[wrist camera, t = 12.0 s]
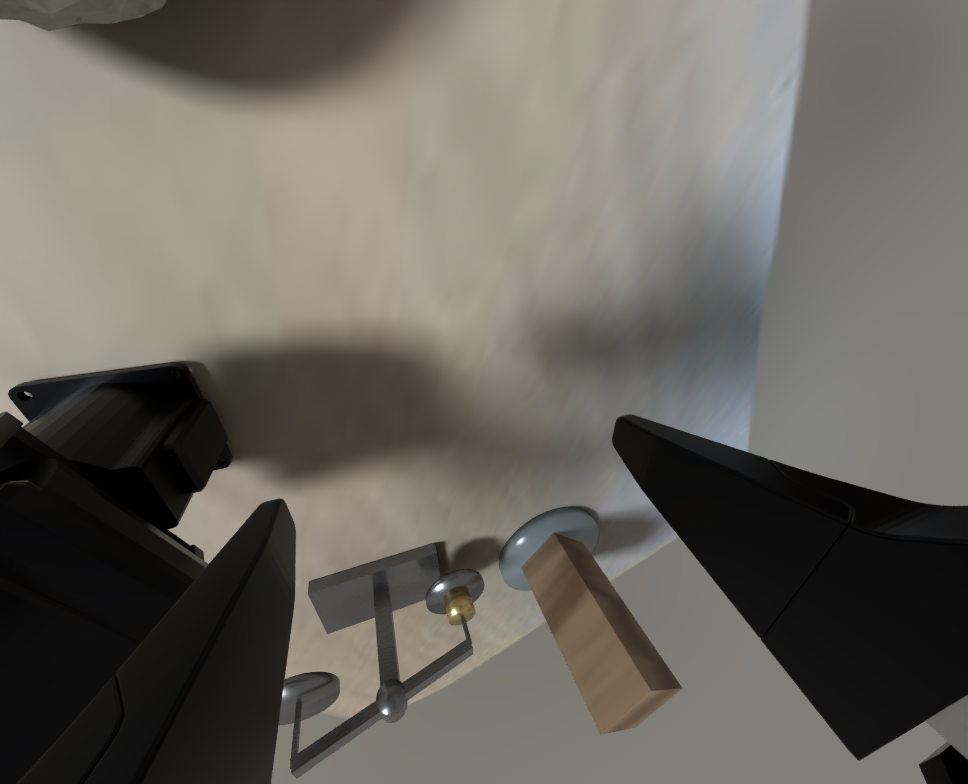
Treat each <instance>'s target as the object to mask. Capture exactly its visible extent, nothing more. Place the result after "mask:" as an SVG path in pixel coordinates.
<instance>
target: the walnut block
mask: <svg viewBox="0 0 968 784" xmlns="http://www.w3.org/2000/svg"><path fill="white" fill-rule="evenodd" d="M521 568H522V570H523V573H524V575H525V577H526V579H527V581H528V583H529V585H530V587H531V589H532V591H533V594H534V596H535V598H536V600H537V602H538V604H539V606H540V608H541V610H542V613H543V615H544V617H545V619H546V621H547V623H548V625H549V627H550V629H551V631H552V634H553V636H554V638H555V640H556V642H557V644H558V646H559V648H560V651H561V653H562V655H563V657H564V659H565V661H566V663H567V665H568V667H569V670H570V671H571V674H572V676H573V678H574V680H575V682H576V684H577V686H578V689H579V691H580V693H581V695H582V697H583V699H584V701H585V703H586V705H587V707H588V709H589V712H590V714H591V716H592V718H593V720H594V722H595V724H596V727H597V728H598V731H599V733H600V734H605V733H610V732H615V731H620V730H625V729H630V728H635V727H637V726H638V725H639V724H640V723H641V722H643V721H644V720H645V719H646V718H647V717H649V716H650V715H651V714H652V713H653V712H655V711H656V710H657V709H658V708H659V707H661V706H662V705H663V704H664V703H665V702H667V701H668V700H669V699H670V698H671V697H672V696H674V695H675V694H676V693H677V692H679V691H680V690H681V689H682V687H681V686H680V684H679V683H678V681H677V680H676V678H675V677H674V675H673V674H672V672H671V671H670V670H669V668H668V667H667V665H666V664H665V662H664V661H663V659H662V658H661V656H660V655H659V653H658V652H657V650H656V649H655V647H654V646H653V645H652V643H651V642H650V640H649V639H648V637H647V636H646V634H645V633H644V631H643V630H642V628H641V627H640V625H639V624H638V623H637V621H636V620H635V618H634V617H633V615H632V614H631V612H630V611H629V609H628V608H627V606H626V605H625V604H624V602H623V601H622V599H621V598H620V596H619V595H618V593H617V592H616V591H615V589H614V587H613V586H612V585H611V583H610V582H609V580H608V579H607V577H606V576H605V574H604V573H603V571H602V570H601V568H600V567H599V566H598V564H597V563H596V561H595V560H594V558H593V557H592V555H591V554H590V552H589V551H588V549H587V548H586V547H585V545H584V544H583V542H580V541H577V540H574V539H571V538H568V537H565V536H562V535H559V534H556V533H553V534H552V535H551V536H550V537H549V538H548V539H547V540H546V541H545V542H544V543H543V544H542V545H541V546H540V548H539V549H538V550H537V551H536V552H535V553H534V554H533V555H532V556H531V557H530V558H529V559H528V560H527V561H526V562H525V564H524V565H523V566H522V567H521Z"/></svg>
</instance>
